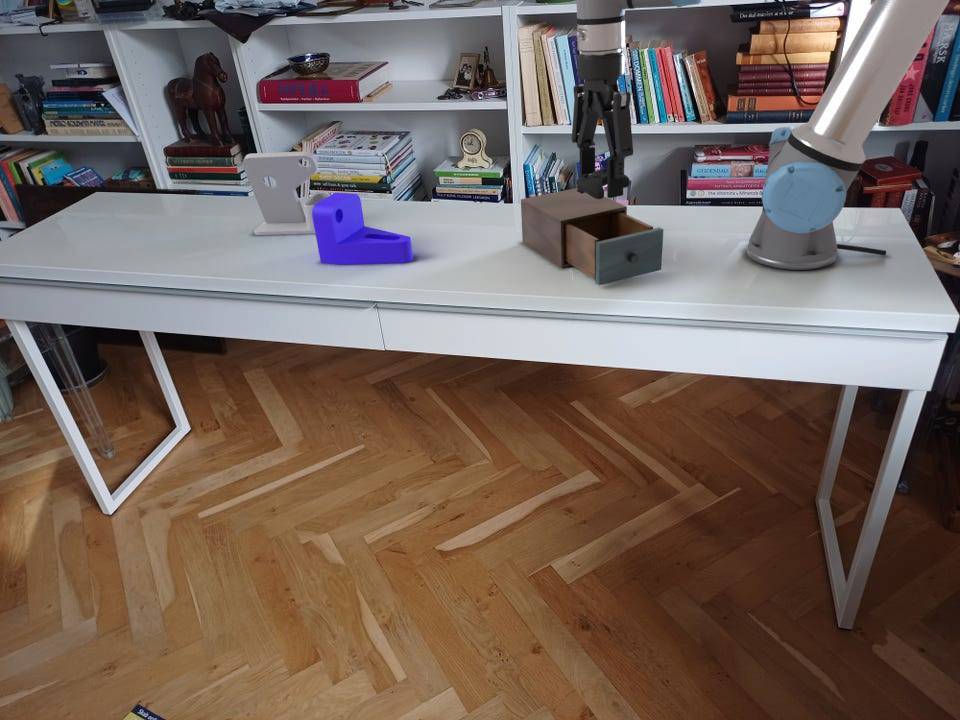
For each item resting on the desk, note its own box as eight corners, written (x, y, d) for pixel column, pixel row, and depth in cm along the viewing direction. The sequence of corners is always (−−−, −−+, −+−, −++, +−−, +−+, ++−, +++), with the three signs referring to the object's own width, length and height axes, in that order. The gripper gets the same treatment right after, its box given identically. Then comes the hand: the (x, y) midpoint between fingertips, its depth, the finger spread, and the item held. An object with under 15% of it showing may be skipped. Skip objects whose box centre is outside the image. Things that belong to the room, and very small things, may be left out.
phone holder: (338, 218, 174) (325, 141, 165) (326, 233, 165) (311, 152, 157) (268, 220, 176) (252, 144, 168) (252, 235, 168) (234, 155, 159)
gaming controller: (602, 196, 124) (581, 168, 125) (584, 214, 128) (564, 187, 129) (634, 181, 130) (614, 154, 131) (616, 199, 134) (596, 173, 135)
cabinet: (625, 252, 143) (627, 206, 138) (561, 268, 138) (560, 220, 134) (582, 229, 156) (582, 186, 152) (522, 243, 151) (520, 199, 147)
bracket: (320, 262, 149) (310, 206, 144) (349, 244, 158) (340, 190, 152) (399, 270, 143) (391, 211, 137) (424, 250, 152) (417, 194, 146)
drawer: (665, 271, 131) (667, 231, 128) (602, 287, 127) (603, 246, 124) (614, 244, 145) (615, 207, 141) (556, 258, 141) (555, 220, 137)
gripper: (548, 50, 126) (553, 181, 137) (617, 59, 109) (616, 209, 120) (586, 44, 128) (588, 174, 139) (659, 53, 111) (654, 200, 122)
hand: (601, 190), depth 130 cm, fingers closed on gaming controller, 8 cm apart
